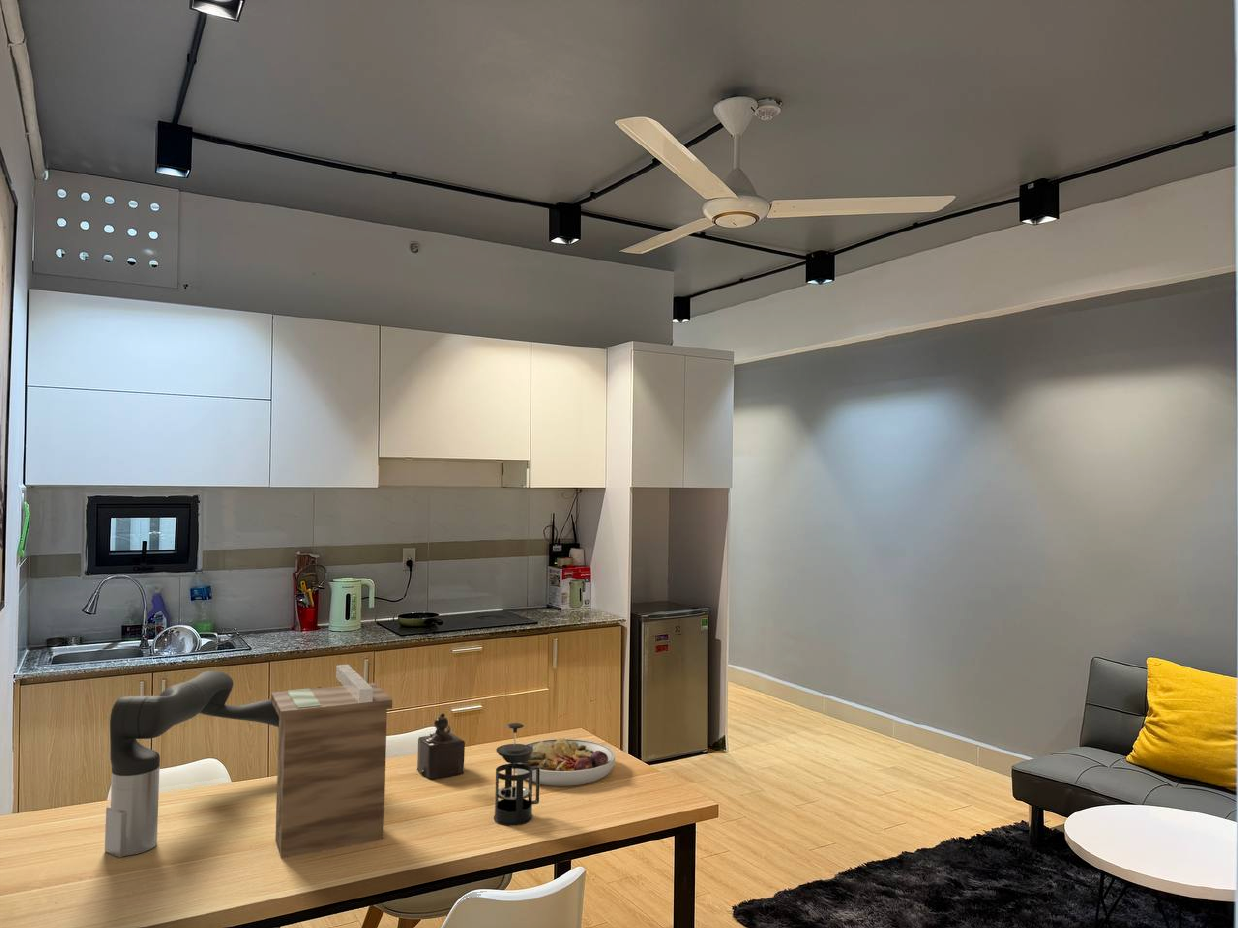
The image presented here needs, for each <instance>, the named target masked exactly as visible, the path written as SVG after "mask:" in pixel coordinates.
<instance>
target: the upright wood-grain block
mask: <svg viewBox="0 0 1238 928" xmlns="http://www.w3.org/2000/svg"><path fill="white" fill-rule="evenodd" d="M368 684H369V685H370V686H371V687H372V688H373V702H365V703H359V702H358V701H357V700H356V699H355V698H354V697H353V696H352V695H351V693H350V692H349V691H348V690H347V689H346V688H345V687H344V686H343V685H339V686H338V685H337V686H328V687H321V688H318V687H317V688H299V689H289V690H286V691H275V692H271V698H270V699H271V702H272V704H273V706H274V708H275V710H276V712H277V714H278V716H279V727H278V739H277V741H278V742H277V744H278V745H277V747H278V748H277V773H276V774H277V777H276V808H275V809H276V810H275V811H276V812H275V840H274V841H275V843H276V846H277V849H278V852H279V856H280V858H281V859H282V857H283V858H288V857H287V856H289V857H292V856H293V855H294V856H298V855H303V854H310V853H315V852H320V851H325V850H332V849H337V848H341V847H347V846H354V845H358V844H363V843H369V842H374V841H380V840H384V826H385V825H384V824H385V820H384V819H385V791H386V788H385V785H386V784H385V783H386V756H387V754H386V753H387V752H386V751H387V750H386V748H387V747H386V746H387V745H386V743H387V717H388V716H387V714H388V712H387V711H388V709H389V710H390V709H392V708H393V699H392V697H390V696H389V695H388V694H387V693H386V692H385V691H384V690H383V689H382V688H381V687H380V686H378V685H377V683H376V682H371V683H368Z"/></svg>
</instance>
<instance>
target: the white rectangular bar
mask: <svg viewBox="0 0 1238 928" xmlns="http://www.w3.org/2000/svg"><path fill="white" fill-rule="evenodd" d="M335 668H336V669H335V670H336V672H335V674H336V675H335V678H336V679H337V680H338V681H339V682H340V683H341V686H344V687H345V688H346V689H347V690H348V691H349V692H350V693H351V695H352V696H353V697H354V698H355V699H356V700H357V701H358V702H359V703H365V702H373V688H372V687H371V686H370V685H369V683H368V682H367V681H366V680H365V679H364V678H363V677H362V676H361V675H360V674H359V673H358V672H357V671H355V669H353V668H352V667H351V665H350V664H339V665H336V667H335Z"/></svg>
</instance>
